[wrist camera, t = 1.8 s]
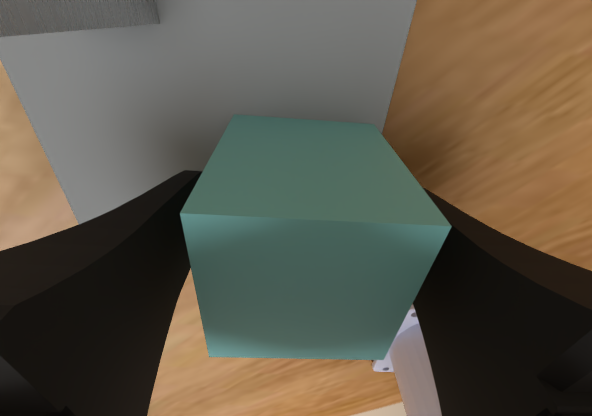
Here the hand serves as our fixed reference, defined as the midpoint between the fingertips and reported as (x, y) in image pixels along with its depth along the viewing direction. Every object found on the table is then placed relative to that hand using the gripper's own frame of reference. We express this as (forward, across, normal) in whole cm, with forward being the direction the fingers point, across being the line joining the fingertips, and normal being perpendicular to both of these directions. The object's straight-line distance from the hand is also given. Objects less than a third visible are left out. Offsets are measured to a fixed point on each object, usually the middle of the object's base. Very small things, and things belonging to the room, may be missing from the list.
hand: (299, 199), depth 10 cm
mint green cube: (+2, 0, 0) cm, 2 cm away
